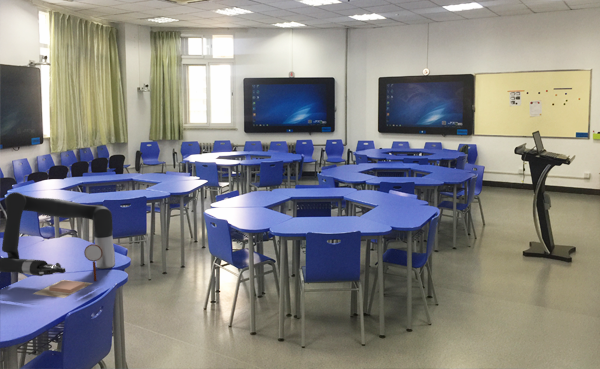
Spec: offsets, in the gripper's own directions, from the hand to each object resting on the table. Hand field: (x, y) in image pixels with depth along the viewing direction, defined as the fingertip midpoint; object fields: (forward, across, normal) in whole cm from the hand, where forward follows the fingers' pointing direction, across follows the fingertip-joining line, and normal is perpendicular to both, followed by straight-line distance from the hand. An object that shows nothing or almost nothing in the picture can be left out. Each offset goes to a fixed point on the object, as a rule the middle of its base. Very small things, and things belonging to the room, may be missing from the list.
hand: (64, 270), depth 250 cm
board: (-1, 0, +10) cm, 10 cm away
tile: (-5, 0, +8) cm, 9 cm away
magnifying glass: (+7, +13, +10) cm, 18 cm away
